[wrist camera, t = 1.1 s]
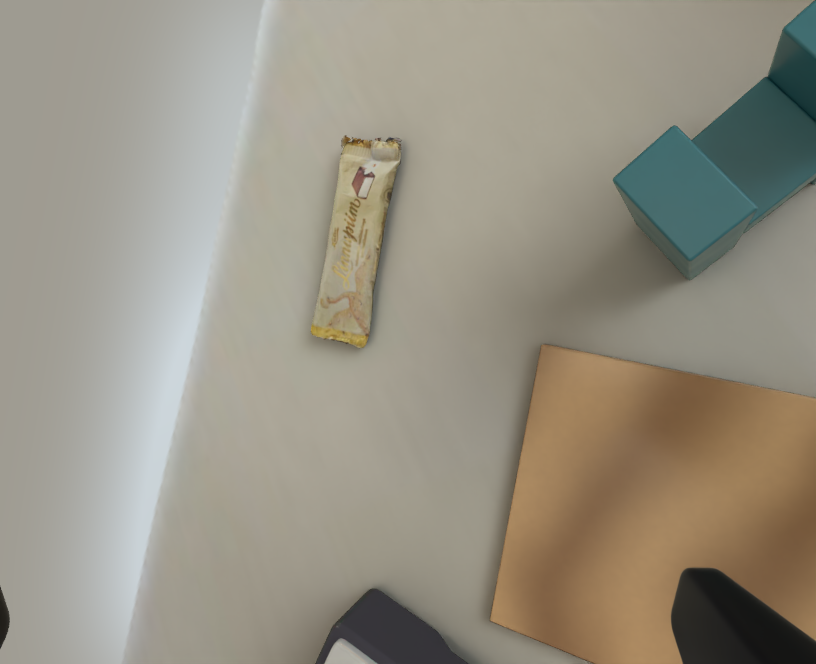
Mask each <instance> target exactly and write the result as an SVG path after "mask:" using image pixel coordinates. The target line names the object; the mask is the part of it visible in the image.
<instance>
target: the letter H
mask: <svg viewBox="0 0 816 664" xmlns="http://www.w3.org/2000/svg"><path fill="white" fill-rule="evenodd" d="M613 182H614V184H615V186H616V188H617V189H618V191H619V193H620V195H621V197H622V199H623V200H624V202H625V204H626V206H627V208H628V210H629V211H630V213H631V215H632V217H633V219H634V221H635V222H636V224H637V225H638V227H639V228H640V229H641V230H642V231H643V232H644V233H645V234H646V235H647V236H648V237H649V238H650V240H651V241H652V242H653V243H654V244H655V245H656V246H657V247H658V248H659V249H660V250H661V251H662V252H663V254H664V255H665V256H666V257H667V258H668V259H669V260H670V261H671V262H672V263H673V264H674V265H675V266H676V268H677V269H678V270H679V271H680V272H681V273H682V274H683V275H684V276H685V277H686V278H687V279H688V280H692V279H693V278H694V277H696V276H697V275H698V274H699V273H701V272H702V271H703V270H705V269H706V268H707V267H709V266H710V265H711V264H712V263H714V262H715V261H716V260H718V259H719V258H720V257H721V256H723V255H724V254H725V253H727V252H728V251H729V250H731V249H732V248H733V247H734V246H735V245H736V243H737V241H738V240H739V238H740V237H741V235H742V233H745V232H747V231H748V230H749V229H751V228H752V227H753V226H755V225H756V224H757V223H758V222H760V221H761V220H762V219H764V218H765V217H766V216H767V215H769V214H770V213H771V212H773V211H774V210H775V209H776V208H778V207H779V206H780V205H782V204H783V203H784V202H785V201H787V200H788V199H789V198H791V197H792V196H793V195H795V194H796V193H797V192H798V191H800V190H801V189H802V188H804V187H805V186H806V185H807V184H809V183H811V184H813V185H814V184H816V0H814V1H813V2H812V3H811V4H810V5H809V6H807V7H806V8H805V9H804V10H803V11H802V12H801V13H800V14H798V15H797V16H796V17H795V18H794V19H793V20H792V21H791V22H789V23H788V24H787V25H786V26H785V27H784V28H783V30H782V33H781V36H780V39H779V42H778V46H777V49H776V52H775V55H774V58H773V61H772V64H771V67H770V70H769V73H768V77H765V78H763V79H762V80H761V81H760V82H759V83H757V84H756V85H755V86H754V87H753V88H752V89H751V90H749V91H748V92H747V93H746V94H745V95H744V96H742V97H741V98H740V99H739V100H738V101H737V102H735V103H734V104H733V105H732V106H731V107H730V108H729V109H727V110H726V111H725V112H724V113H723V114H722V115H720V116H719V117H718V118H717V119H716V120H715V121H713V122H712V123H711V124H710V125H709V126H708V127H707V128H705V129H704V130H703V131H702V132H701V133H700V134H698V135H697V136H696V137H695V138H694V139H693V140H690V139H689V138H688V137H687V136H686V135H685V134H684V133H683V132H682V131H681V130H680V129H679V128H678V127H677V126H675V125H674V126H672V127H671V128H669V129H668V130H667V131H666V132H665V133H664V134H663V135H662V136H660V137H659V138H658V139H657V140H656V141H655V142H654V143H652V144H651V145H650V146H649V147H648V148H647V149H646V150H645V151H643V152H642V153H641V154H640V155H639V156H638V157H637V158H636V159H634V160H633V161H632V162H631V163H630V164H629V165H628V166H626V167H625V168H624V169H623V170H622V171H621V172H620V173H619V174H617V175H616V176H615V177H614V179H613Z"/></svg>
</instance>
